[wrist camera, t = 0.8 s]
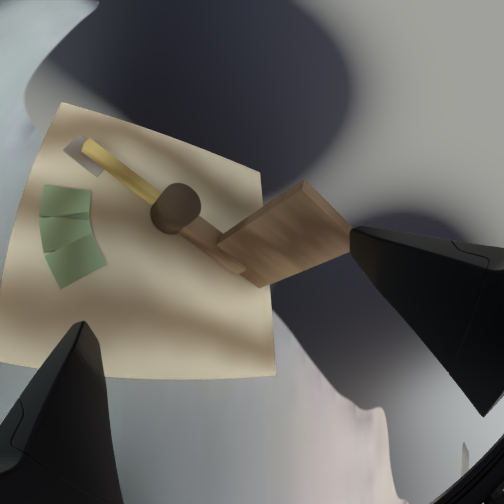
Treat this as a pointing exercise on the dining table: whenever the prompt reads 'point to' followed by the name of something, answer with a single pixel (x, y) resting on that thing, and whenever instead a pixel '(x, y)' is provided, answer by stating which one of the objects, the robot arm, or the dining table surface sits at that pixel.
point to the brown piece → (244, 225)
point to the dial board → (131, 260)
